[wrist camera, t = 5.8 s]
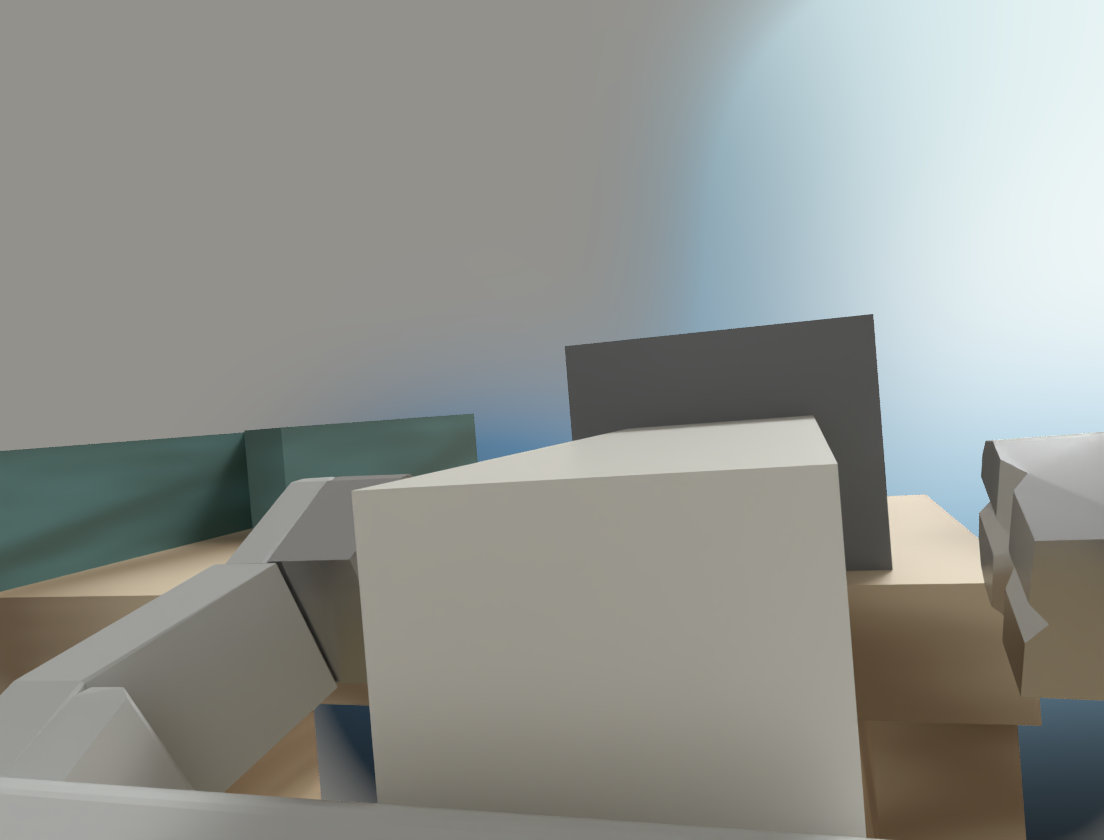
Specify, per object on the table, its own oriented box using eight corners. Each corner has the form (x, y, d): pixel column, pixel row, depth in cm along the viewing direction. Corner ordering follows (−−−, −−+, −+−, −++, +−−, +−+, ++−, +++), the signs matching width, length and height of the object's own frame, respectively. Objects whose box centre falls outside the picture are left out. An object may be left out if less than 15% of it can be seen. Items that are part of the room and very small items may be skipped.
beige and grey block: (1081, 937, 4) (1023, 157, 4) (253, 859, 6) (203, 279, 6) (861, 508, 20) (848, 340, 19) (652, 516, 21) (640, 360, 21)
